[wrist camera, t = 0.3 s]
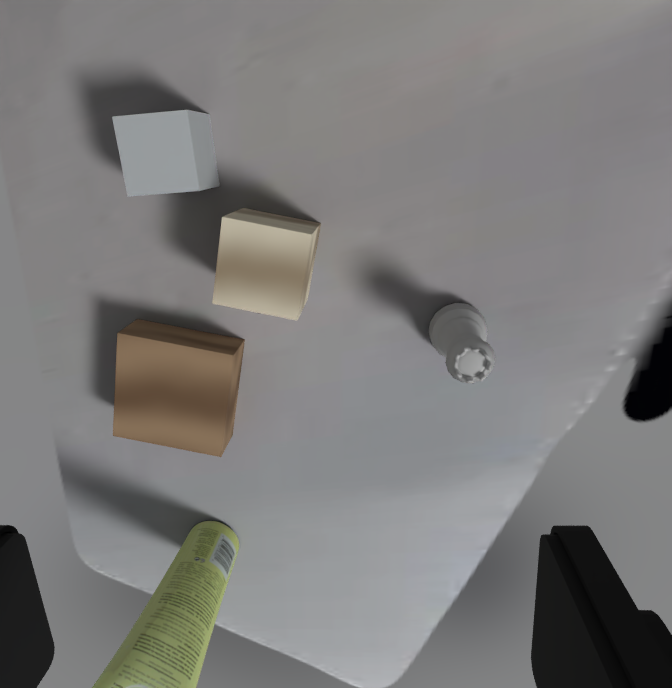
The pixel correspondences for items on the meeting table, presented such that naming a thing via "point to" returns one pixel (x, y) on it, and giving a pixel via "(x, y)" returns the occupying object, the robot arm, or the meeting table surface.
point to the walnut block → (176, 386)
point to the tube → (177, 616)
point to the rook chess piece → (462, 342)
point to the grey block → (166, 152)
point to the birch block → (265, 262)
